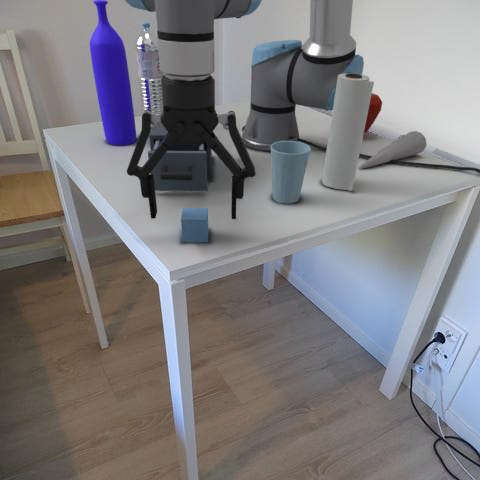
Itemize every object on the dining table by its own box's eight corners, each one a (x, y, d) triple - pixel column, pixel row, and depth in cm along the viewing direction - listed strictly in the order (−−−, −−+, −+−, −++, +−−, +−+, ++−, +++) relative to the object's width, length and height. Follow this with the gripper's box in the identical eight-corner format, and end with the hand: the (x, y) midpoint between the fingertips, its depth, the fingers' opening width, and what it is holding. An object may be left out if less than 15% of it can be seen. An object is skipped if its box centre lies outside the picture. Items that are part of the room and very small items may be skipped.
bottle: (130, 147, 110) (109, 2, 90) (100, 144, 111) (73, 1, 91) (142, 137, 116) (125, 0, 96) (113, 134, 117) (91, -2, 98)
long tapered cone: (383, 158, 96) (427, 132, 105) (359, 154, 100) (404, 129, 109) (381, 182, 100) (424, 156, 109) (358, 177, 104) (402, 152, 113)
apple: (381, 140, 119) (392, 92, 111) (346, 142, 116) (355, 94, 109) (363, 128, 127) (372, 83, 119) (330, 130, 124) (337, 84, 117)
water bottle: (156, 123, 126) (146, 20, 110) (173, 128, 123) (165, 23, 107) (139, 128, 121) (126, 22, 105) (156, 133, 119) (145, 25, 102)
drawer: (206, 201, 84) (205, 162, 79) (149, 201, 84) (144, 161, 79) (208, 166, 98) (207, 131, 93) (159, 166, 98) (155, 130, 93)
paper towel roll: (320, 178, 97) (335, 71, 83) (346, 178, 97) (366, 72, 83) (323, 191, 92) (341, 79, 78) (351, 192, 92) (374, 80, 78)
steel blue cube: (208, 230, 77) (207, 207, 75) (207, 242, 74) (207, 219, 71) (184, 230, 77) (182, 207, 74) (182, 242, 74) (180, 219, 71)
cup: (259, 196, 89) (262, 145, 82) (285, 187, 93) (290, 137, 86) (285, 209, 84) (290, 156, 78) (311, 199, 88) (318, 148, 82)
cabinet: (211, 180, 95) (210, 135, 88) (154, 180, 94) (149, 135, 88) (211, 157, 106) (211, 116, 99) (161, 156, 105) (156, 115, 99)
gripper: (273, 71, 63) (264, 206, 76) (102, 67, 61) (124, 204, 75) (279, 82, 57) (268, 226, 71) (90, 78, 56) (116, 225, 69)
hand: (194, 215), depth 73 cm, fingers open, 13 cm apart
